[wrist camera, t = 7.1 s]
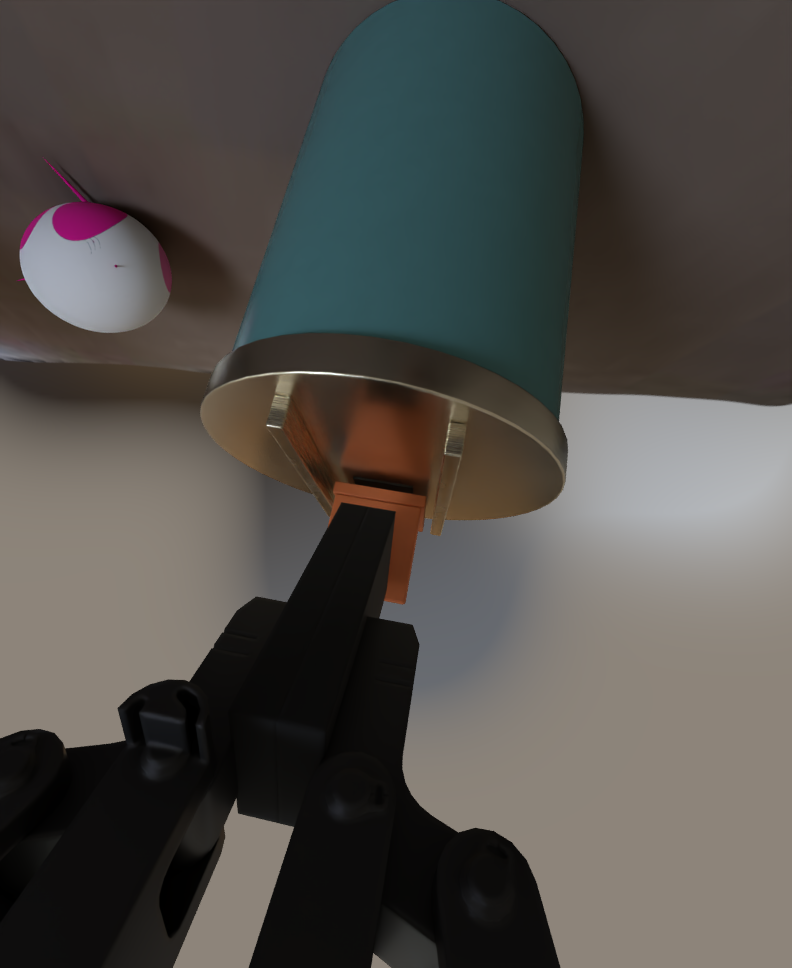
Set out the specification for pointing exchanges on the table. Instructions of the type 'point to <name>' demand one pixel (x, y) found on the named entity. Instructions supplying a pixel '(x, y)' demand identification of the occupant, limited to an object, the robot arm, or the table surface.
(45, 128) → the table surface
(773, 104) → the table surface
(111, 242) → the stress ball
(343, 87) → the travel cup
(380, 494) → the slider
